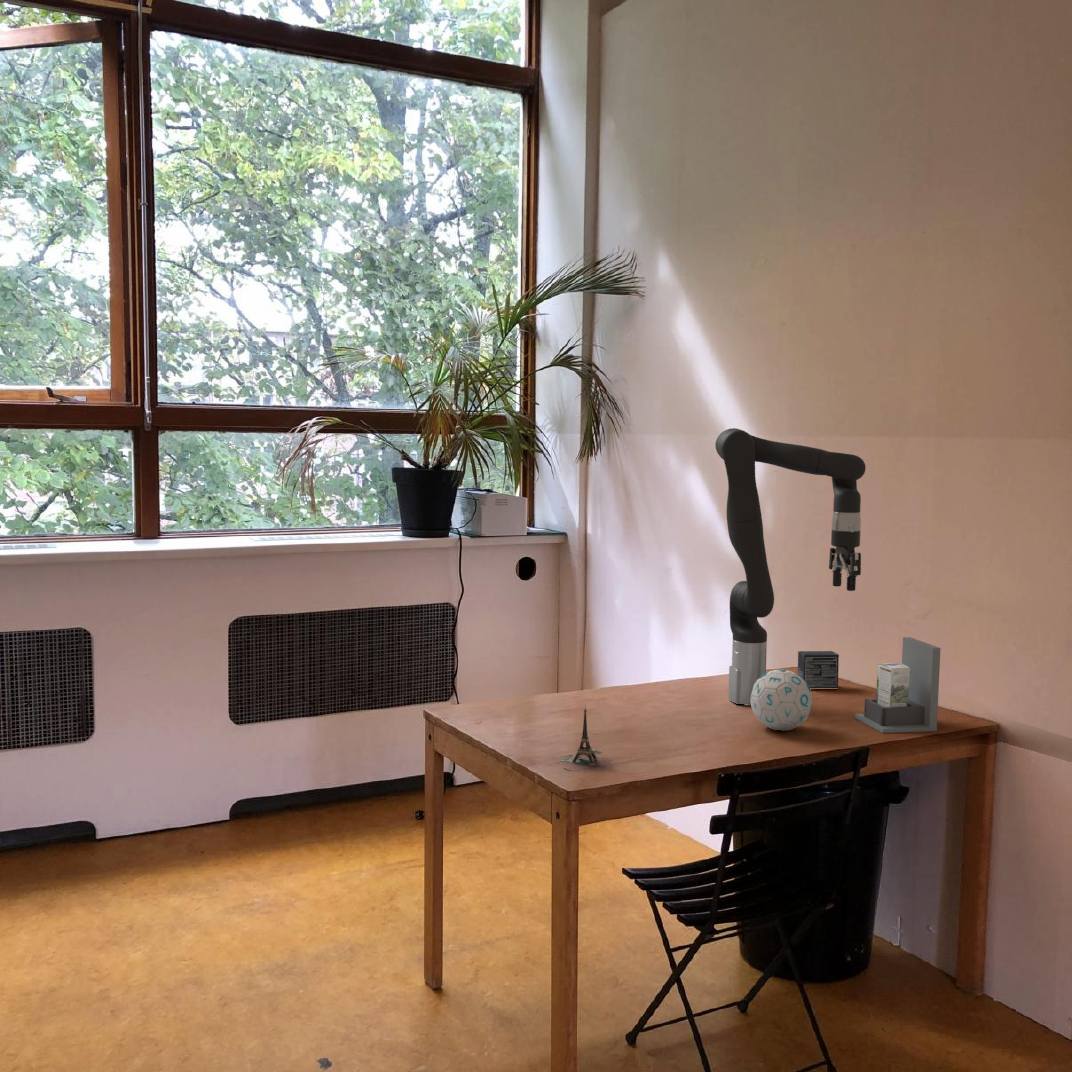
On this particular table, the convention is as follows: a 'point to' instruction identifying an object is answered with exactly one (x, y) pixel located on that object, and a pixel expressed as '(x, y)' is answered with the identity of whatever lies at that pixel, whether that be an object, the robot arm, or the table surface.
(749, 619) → the robot arm
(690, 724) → the table surface
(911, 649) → the wall holder
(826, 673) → the small box
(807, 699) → the puzzle ball
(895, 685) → the syrup box
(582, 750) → the eiffel tower figurine
